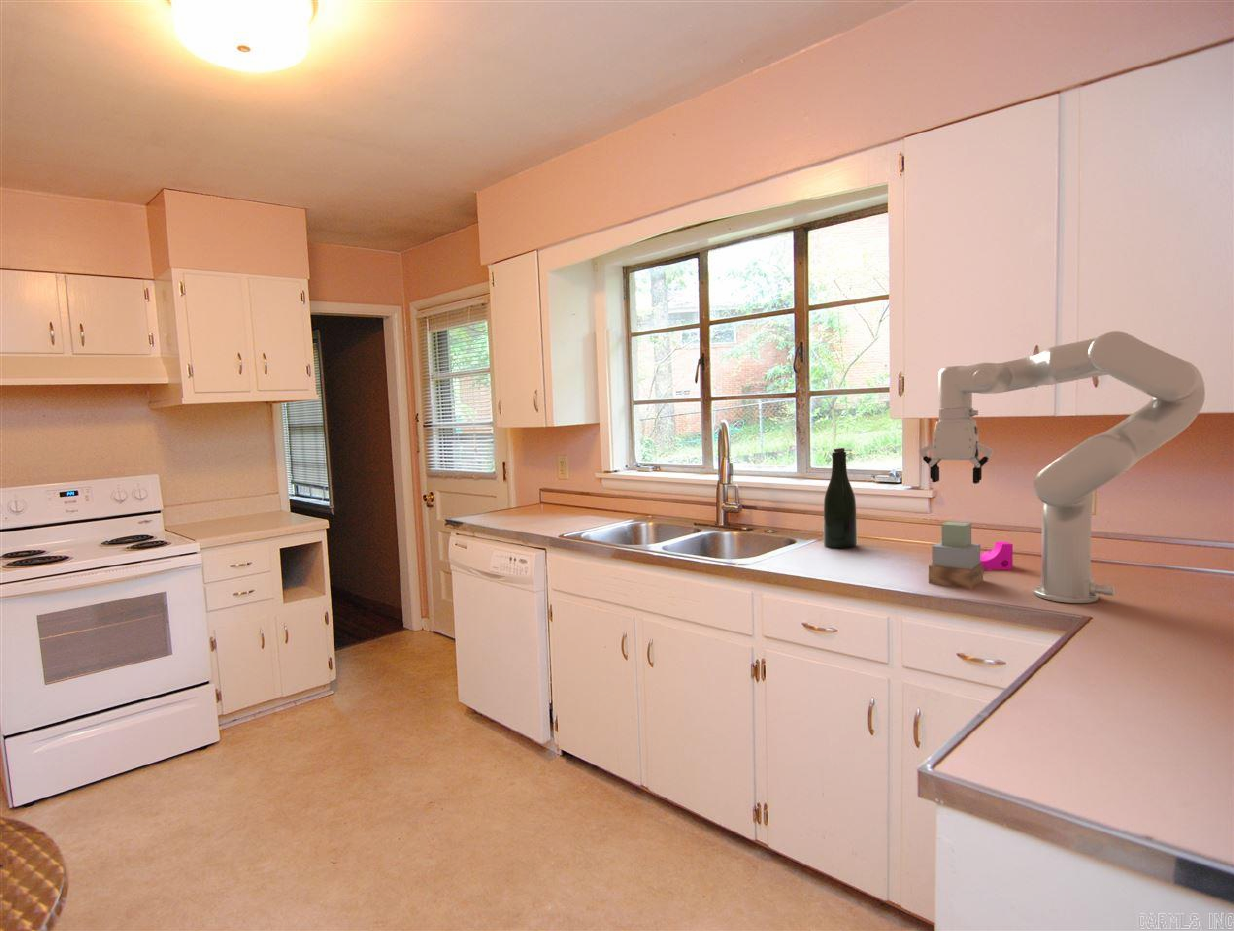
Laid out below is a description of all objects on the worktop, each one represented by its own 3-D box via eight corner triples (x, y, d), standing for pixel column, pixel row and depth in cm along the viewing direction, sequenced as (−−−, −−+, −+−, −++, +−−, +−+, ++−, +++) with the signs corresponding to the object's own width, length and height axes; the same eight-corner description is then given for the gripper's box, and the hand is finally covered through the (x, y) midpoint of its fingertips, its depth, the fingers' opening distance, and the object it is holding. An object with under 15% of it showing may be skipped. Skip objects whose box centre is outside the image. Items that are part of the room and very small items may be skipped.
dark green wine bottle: (824, 544, 227) (822, 447, 224) (857, 544, 223) (855, 446, 221) (823, 550, 217) (821, 449, 214) (857, 551, 213) (856, 448, 211)
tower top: (980, 562, 172) (980, 543, 172) (970, 569, 166) (970, 549, 165) (943, 558, 178) (942, 540, 178) (932, 565, 171) (932, 546, 171)
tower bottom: (983, 581, 172) (983, 562, 172) (971, 590, 165) (971, 570, 165) (942, 576, 179) (941, 558, 179) (928, 584, 172) (928, 565, 172)
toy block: (1001, 566, 188) (1001, 539, 187) (1012, 571, 181) (1012, 544, 181) (946, 567, 189) (945, 540, 189) (954, 572, 183) (954, 545, 182)
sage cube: (971, 544, 172) (971, 522, 171) (964, 547, 168) (964, 526, 167) (948, 541, 175) (948, 521, 175) (941, 545, 171) (941, 524, 171)
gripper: (997, 413, 166) (997, 482, 167) (924, 416, 178) (925, 479, 179) (988, 414, 160) (988, 485, 162) (914, 416, 172) (915, 482, 174)
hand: (955, 482), depth 170 cm, fingers open, 9 cm apart
